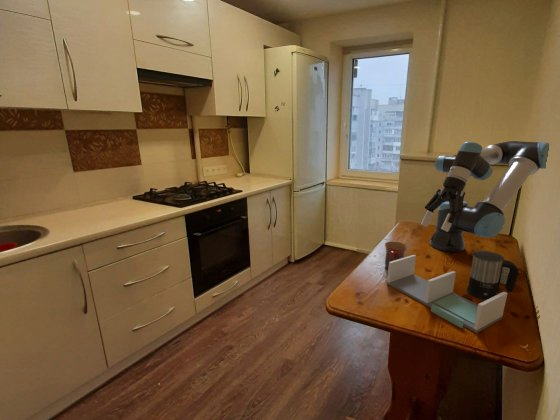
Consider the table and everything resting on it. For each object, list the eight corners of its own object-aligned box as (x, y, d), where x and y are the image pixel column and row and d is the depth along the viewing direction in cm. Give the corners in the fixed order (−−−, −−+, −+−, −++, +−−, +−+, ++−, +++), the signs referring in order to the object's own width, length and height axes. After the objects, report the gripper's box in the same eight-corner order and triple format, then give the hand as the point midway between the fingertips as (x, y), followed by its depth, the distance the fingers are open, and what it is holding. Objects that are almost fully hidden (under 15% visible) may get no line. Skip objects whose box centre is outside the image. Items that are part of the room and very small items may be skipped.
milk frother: (474, 300, 106) (482, 260, 102) (452, 278, 121) (458, 243, 117) (517, 301, 105) (526, 261, 101) (489, 279, 120) (496, 243, 116)
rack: (411, 275, 123) (413, 254, 120) (501, 318, 95) (507, 293, 93) (383, 284, 115) (386, 263, 113) (473, 335, 88) (478, 307, 85)
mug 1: (385, 261, 135) (387, 239, 133) (406, 266, 131) (409, 243, 128) (378, 272, 125) (380, 249, 123) (400, 277, 121) (403, 253, 118)
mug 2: (510, 286, 115) (514, 270, 113) (489, 280, 119) (492, 264, 118) (514, 277, 122) (518, 261, 120) (494, 271, 126) (498, 256, 125)
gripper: (429, 176, 134) (409, 220, 135) (471, 174, 110) (445, 228, 110) (444, 183, 135) (423, 227, 136) (488, 183, 111) (463, 236, 111)
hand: (433, 227), depth 123 cm, fingers open, 13 cm apart
